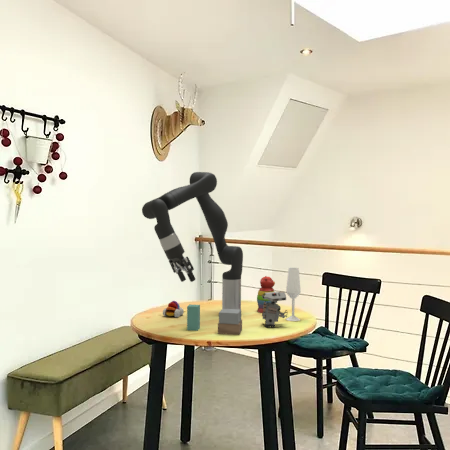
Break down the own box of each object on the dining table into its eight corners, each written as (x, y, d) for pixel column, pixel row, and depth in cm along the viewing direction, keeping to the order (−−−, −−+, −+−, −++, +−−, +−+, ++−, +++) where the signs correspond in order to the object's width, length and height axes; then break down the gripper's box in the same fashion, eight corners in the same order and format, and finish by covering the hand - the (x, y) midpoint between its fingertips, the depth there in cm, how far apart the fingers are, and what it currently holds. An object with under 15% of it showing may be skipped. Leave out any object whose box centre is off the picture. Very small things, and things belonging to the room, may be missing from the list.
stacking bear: (276, 314, 234) (276, 278, 234) (255, 313, 236) (256, 277, 235) (277, 309, 245) (277, 275, 244) (257, 309, 246) (258, 274, 246)
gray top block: (222, 319, 203) (222, 308, 203) (241, 320, 201) (241, 309, 201) (218, 323, 195) (218, 312, 195) (238, 324, 193) (238, 313, 193)
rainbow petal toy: (160, 317, 225) (160, 302, 225) (169, 313, 234) (169, 298, 234) (177, 318, 223) (177, 303, 222) (185, 314, 232) (185, 299, 232)
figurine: (288, 328, 205) (288, 293, 204) (261, 327, 206) (262, 293, 205) (287, 323, 214) (287, 290, 214) (261, 323, 215) (261, 289, 214)
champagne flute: (283, 319, 222) (283, 268, 222) (290, 317, 227) (291, 267, 227) (295, 321, 218) (295, 269, 217) (303, 319, 223) (303, 268, 222)
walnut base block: (221, 329, 203) (221, 318, 203) (242, 330, 202) (242, 319, 202) (217, 334, 194) (217, 323, 194) (239, 335, 193) (239, 324, 193)
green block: (189, 327, 205) (189, 304, 205) (199, 328, 205) (200, 304, 204) (187, 330, 201) (187, 306, 200) (197, 330, 200) (197, 306, 200)
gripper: (187, 240, 189) (203, 276, 192) (171, 242, 201) (187, 276, 204) (171, 249, 186) (189, 285, 188) (157, 250, 198) (173, 285, 200)
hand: (188, 280), depth 196 cm, fingers open, 8 cm apart
